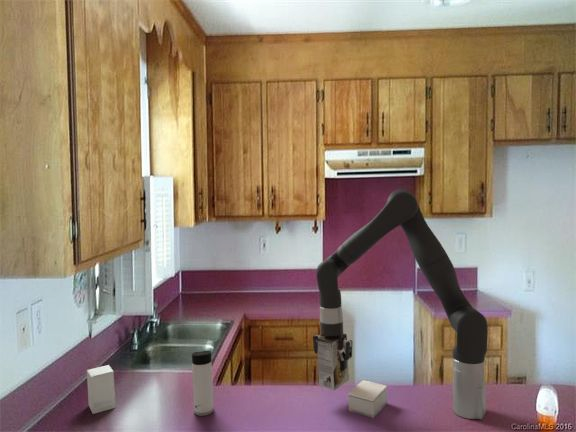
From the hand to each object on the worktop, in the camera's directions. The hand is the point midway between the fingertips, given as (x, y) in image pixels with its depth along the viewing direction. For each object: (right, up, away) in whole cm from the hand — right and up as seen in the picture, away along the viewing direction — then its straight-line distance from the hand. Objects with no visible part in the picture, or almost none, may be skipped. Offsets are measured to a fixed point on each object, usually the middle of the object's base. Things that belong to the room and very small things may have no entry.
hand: (333, 368), depth 147 cm
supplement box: (-78, -14, +2) cm, 79 cm away
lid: (+11, -6, -3) cm, 13 cm away
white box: (+11, -12, -3) cm, 16 cm away
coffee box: (0, -5, 0) cm, 5 cm away
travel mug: (-43, -13, -3) cm, 45 cm away
